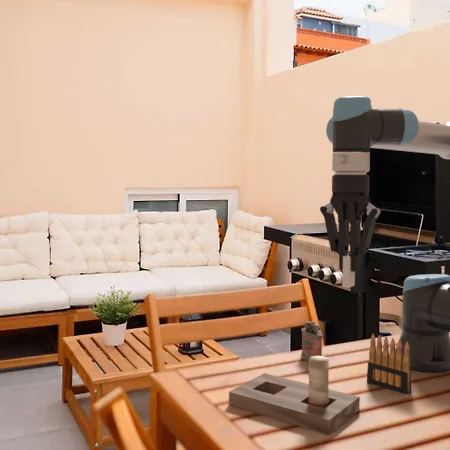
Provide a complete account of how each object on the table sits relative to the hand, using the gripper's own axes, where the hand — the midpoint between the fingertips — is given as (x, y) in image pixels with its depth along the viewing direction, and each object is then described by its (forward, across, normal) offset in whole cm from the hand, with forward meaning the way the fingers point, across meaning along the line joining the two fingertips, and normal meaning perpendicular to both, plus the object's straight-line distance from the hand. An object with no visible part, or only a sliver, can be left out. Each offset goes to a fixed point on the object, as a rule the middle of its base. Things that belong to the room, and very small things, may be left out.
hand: (348, 286), depth 126 cm
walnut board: (+26, -9, -7) cm, 29 cm away
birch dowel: (+26, -3, -7) cm, 27 cm away
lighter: (+27, -21, +23) cm, 41 cm away
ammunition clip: (+27, +3, +16) cm, 31 cm away
